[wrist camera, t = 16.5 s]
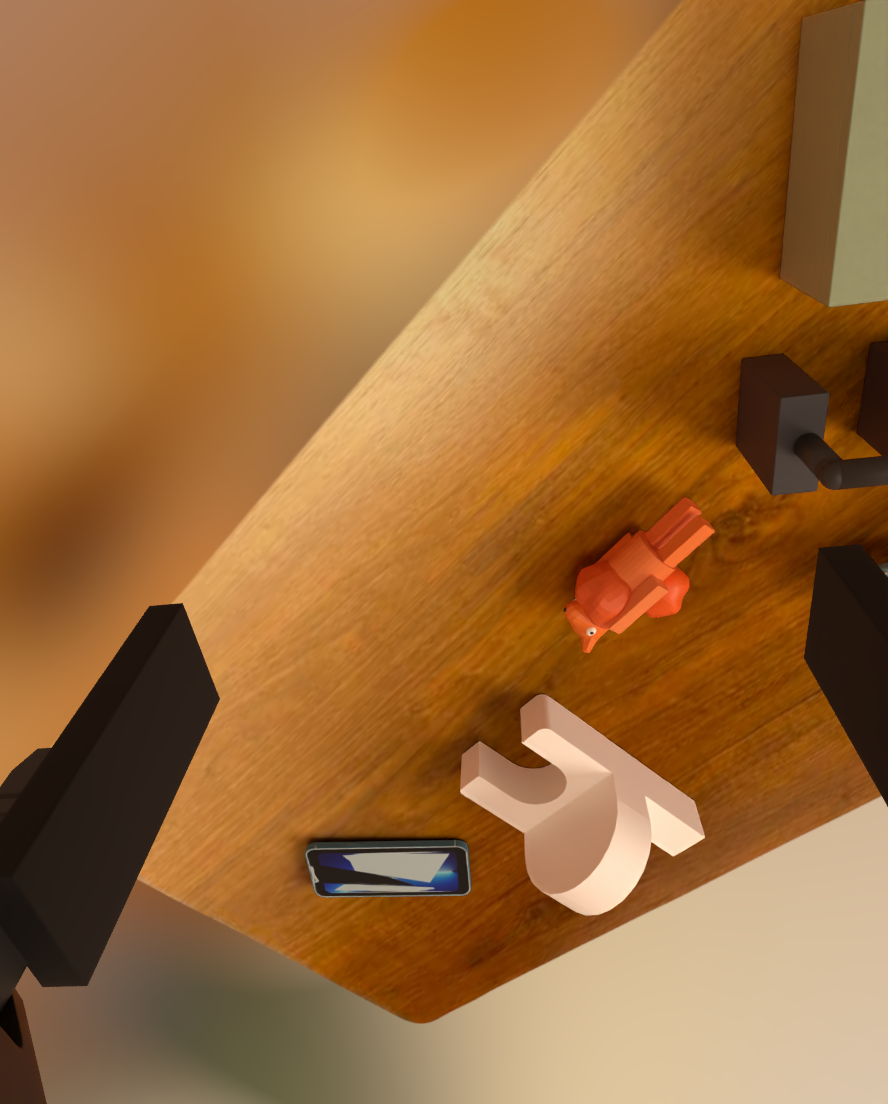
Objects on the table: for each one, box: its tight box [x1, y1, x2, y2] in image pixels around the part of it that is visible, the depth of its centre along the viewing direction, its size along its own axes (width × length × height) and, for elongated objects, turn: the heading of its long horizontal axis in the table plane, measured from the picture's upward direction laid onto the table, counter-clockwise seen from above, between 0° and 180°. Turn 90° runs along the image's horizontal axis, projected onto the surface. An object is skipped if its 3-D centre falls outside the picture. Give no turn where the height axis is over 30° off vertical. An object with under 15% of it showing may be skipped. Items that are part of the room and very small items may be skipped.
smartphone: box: [305, 840, 471, 897], centre depth 69 cm, size 7×1×15 cm
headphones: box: [736, 341, 888, 495], centre depth 40 cm, size 6×10×11 cm, turn 98°
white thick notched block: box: [460, 694, 705, 915], centre depth 58 cm, size 18×10×11 cm, turn 50°
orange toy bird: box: [564, 497, 715, 653], centre depth 49 cm, size 5×8×12 cm
